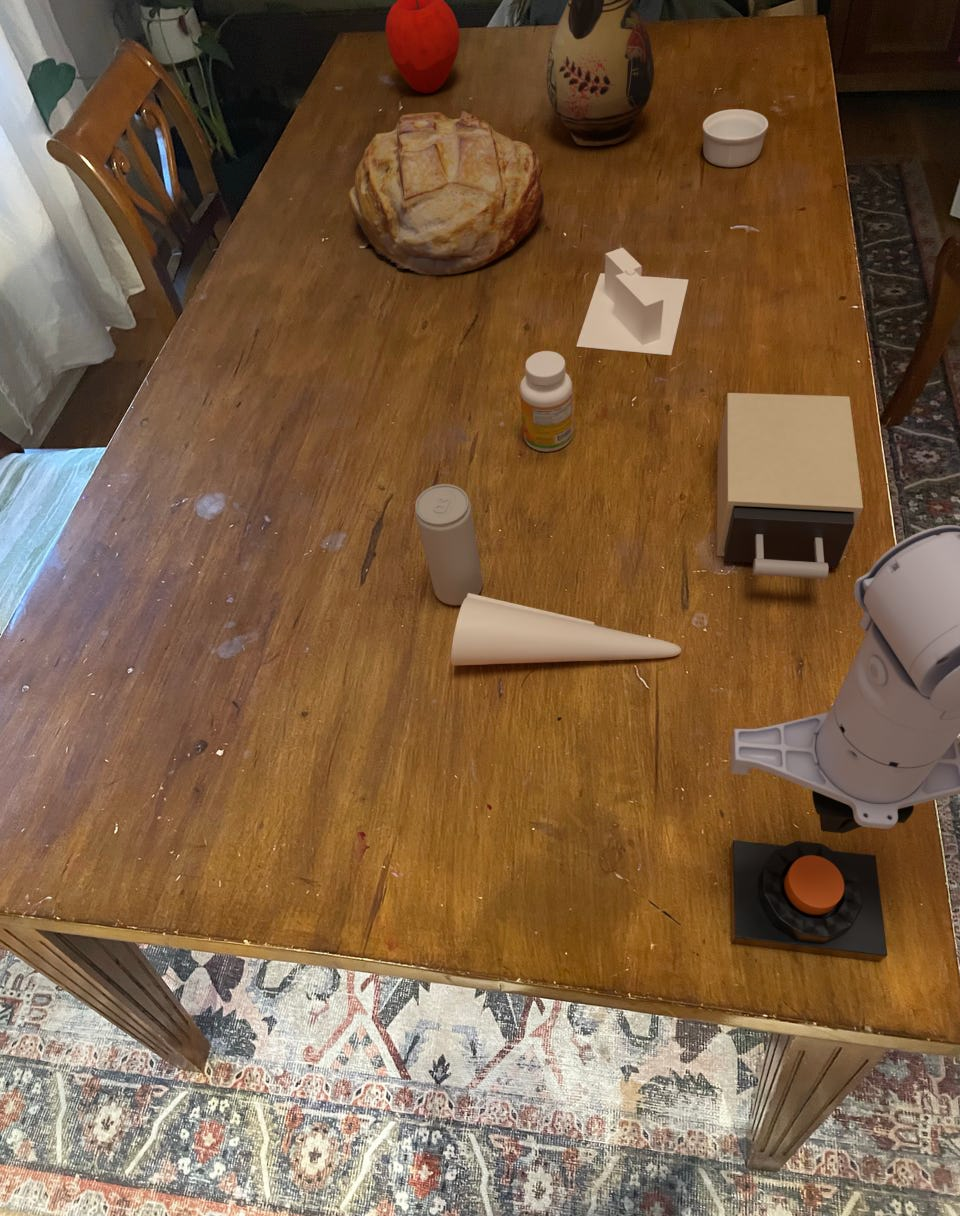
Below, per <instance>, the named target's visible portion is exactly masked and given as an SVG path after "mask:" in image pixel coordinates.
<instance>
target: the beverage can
mask: <svg viewBox="0 0 960 1216" xmlns="http://www.w3.org/2000/svg"><path fill="white" fill-rule="evenodd" d="M414 505H415V507H414V508H415V509H414V513H415V515H414V516H415V520H416V524H417V525H416V526H417V527H418V532H419V536H420V539H421V543H422V547H423V551H424V554H425V555H424V556H425V559H426V563H427V566H428V570H429V576H430V579H431V584H432V588H433V591H434V594H435V596H436V598H437V599H438V600H439V601H440V602H442V603H444V604H446V605H448V606H449V605H450V606H462V603H463V601H464V599H465V598H466V597H467V594H468V593H471V594H475V595H479V594H480V593H481V592H482V590H483V586H484V579H483V573H482V567H481V560H480V553H479V548H478V542H477V535H476V528H475V522H474V517H473V516H474V515H473V510H472V504H471V500H470V499H469V496H468V494H467V492H465V490H463V489H462V488H461V487H459V486H457V485H454V484H452V483H451V484H450V483H439V484H435V485H432V486H429V487H428V488H426V489H424V490H423V491H422V492H420V494H419V495H418V497H417V499H416V501H415V504H414Z"/></svg>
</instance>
